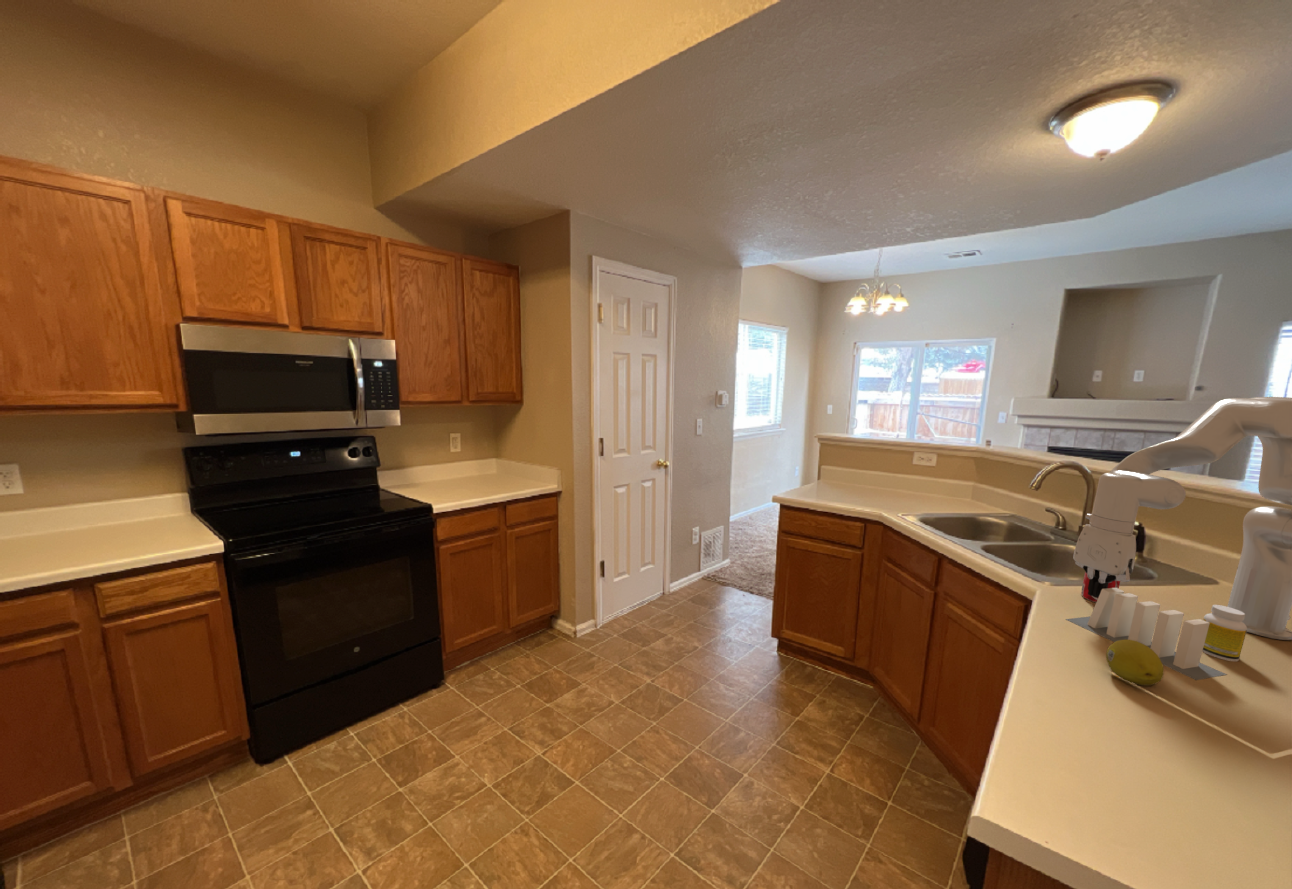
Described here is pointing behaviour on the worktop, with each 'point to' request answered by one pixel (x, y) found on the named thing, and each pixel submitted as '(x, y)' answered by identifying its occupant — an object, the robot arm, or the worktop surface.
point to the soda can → (1085, 588)
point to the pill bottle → (1224, 633)
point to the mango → (1134, 662)
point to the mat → (1193, 672)
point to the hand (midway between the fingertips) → (1095, 595)
